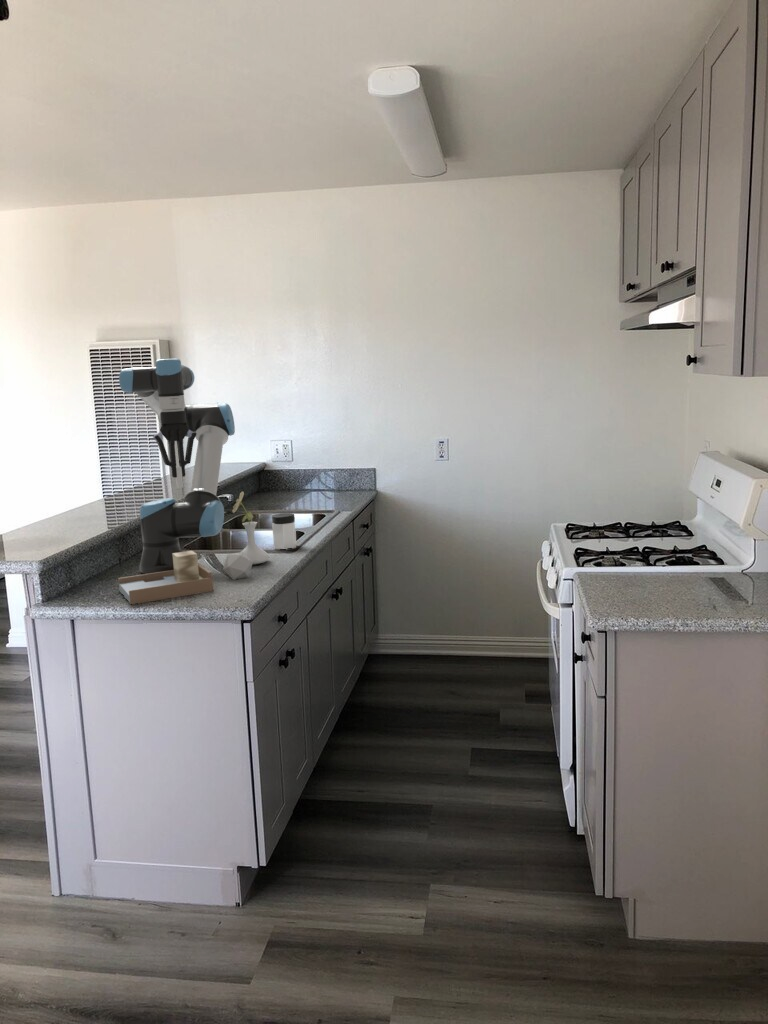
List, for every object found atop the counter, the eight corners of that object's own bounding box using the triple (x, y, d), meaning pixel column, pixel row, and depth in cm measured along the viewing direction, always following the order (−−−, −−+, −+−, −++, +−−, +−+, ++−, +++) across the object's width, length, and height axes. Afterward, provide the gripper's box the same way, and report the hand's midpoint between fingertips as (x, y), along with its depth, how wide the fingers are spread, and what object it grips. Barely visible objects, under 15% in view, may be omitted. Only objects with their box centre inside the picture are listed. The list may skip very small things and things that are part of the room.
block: (179, 583, 244) (176, 556, 243) (174, 578, 250) (172, 553, 248) (199, 579, 247) (197, 553, 246) (194, 575, 252) (192, 550, 251)
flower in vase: (247, 558, 284) (241, 487, 280) (276, 560, 279) (270, 487, 275) (226, 567, 272) (220, 493, 268) (256, 569, 268) (250, 493, 263)
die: (247, 574, 264) (227, 552, 262) (262, 564, 258) (242, 541, 257) (233, 589, 257) (213, 567, 256) (248, 579, 252) (227, 556, 250)
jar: (296, 549, 295) (293, 516, 293) (273, 550, 295) (270, 517, 293) (297, 544, 304) (295, 512, 302) (275, 545, 304) (272, 513, 302)
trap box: (130, 604, 233) (128, 585, 232) (119, 591, 248) (117, 573, 247) (213, 590, 243) (212, 572, 242) (197, 578, 259) (196, 561, 258)
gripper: (153, 412, 242) (161, 491, 246) (197, 409, 248) (203, 486, 252) (148, 411, 249) (155, 488, 253) (190, 408, 255) (197, 484, 259)
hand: (179, 487), depth 252 cm, fingers closed
